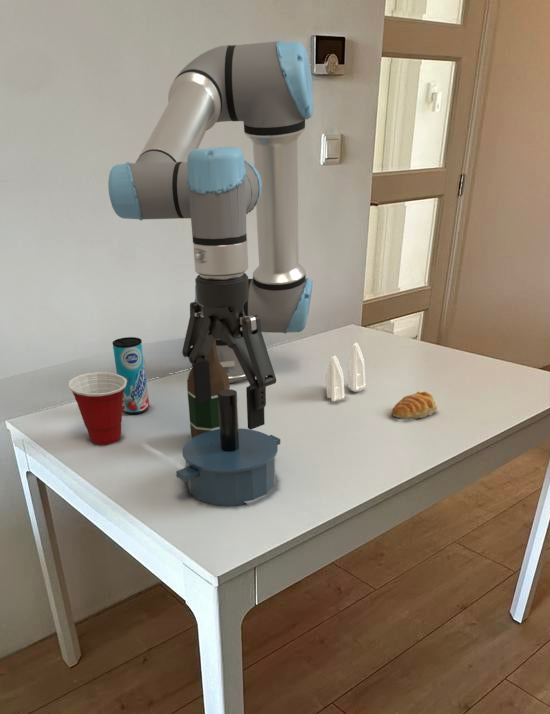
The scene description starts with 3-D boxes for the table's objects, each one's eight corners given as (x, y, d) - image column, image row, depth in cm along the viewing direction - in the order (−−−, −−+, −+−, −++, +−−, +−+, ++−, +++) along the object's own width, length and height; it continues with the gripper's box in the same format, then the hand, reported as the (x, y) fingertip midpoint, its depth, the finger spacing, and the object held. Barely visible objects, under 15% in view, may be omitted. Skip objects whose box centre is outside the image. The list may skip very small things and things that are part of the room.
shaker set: (357, 385, 144) (360, 337, 138) (371, 390, 141) (375, 341, 136) (320, 398, 138) (321, 349, 132) (334, 404, 135) (336, 353, 129)
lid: (164, 452, 105) (158, 392, 99) (237, 426, 113) (235, 369, 107) (221, 486, 94) (217, 421, 89) (297, 454, 102) (298, 392, 97)
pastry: (409, 425, 124) (411, 407, 122) (382, 416, 129) (384, 398, 127) (438, 412, 129) (441, 394, 127) (412, 404, 134) (414, 386, 132)
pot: (158, 487, 106) (154, 454, 103) (249, 452, 117) (248, 420, 114) (209, 522, 97) (207, 486, 93) (304, 480, 107) (305, 446, 104)
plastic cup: (108, 455, 118) (99, 394, 111) (67, 444, 123) (55, 385, 116) (145, 434, 125) (138, 376, 119) (105, 424, 130) (96, 367, 124)
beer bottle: (191, 436, 123) (181, 312, 111) (231, 434, 124) (225, 309, 111) (192, 454, 117) (181, 324, 104) (234, 451, 117) (228, 321, 105)
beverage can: (125, 417, 133) (115, 347, 125) (119, 407, 138) (109, 339, 130) (152, 412, 135) (144, 343, 127) (145, 403, 140) (137, 335, 132)
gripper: (151, 266, 95) (166, 398, 107) (258, 292, 79) (261, 445, 90) (192, 258, 99) (201, 386, 111) (301, 282, 82) (299, 430, 94)
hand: (228, 413), depth 100 cm, fingers open, 13 cm apart
